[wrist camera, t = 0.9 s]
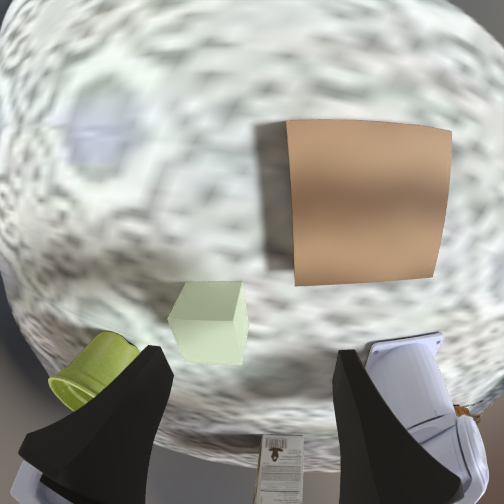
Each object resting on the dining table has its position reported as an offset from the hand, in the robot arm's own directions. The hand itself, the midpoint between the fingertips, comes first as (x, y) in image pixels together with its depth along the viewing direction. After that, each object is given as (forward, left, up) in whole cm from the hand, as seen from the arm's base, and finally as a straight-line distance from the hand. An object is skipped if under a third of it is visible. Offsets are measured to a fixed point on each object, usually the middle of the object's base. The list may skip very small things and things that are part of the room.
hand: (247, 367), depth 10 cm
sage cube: (-4, +4, -10) cm, 11 cm away
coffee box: (-34, 0, -10) cm, 36 cm away
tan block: (+4, -7, -10) cm, 13 cm away
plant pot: (-11, +17, -10) cm, 23 cm away
